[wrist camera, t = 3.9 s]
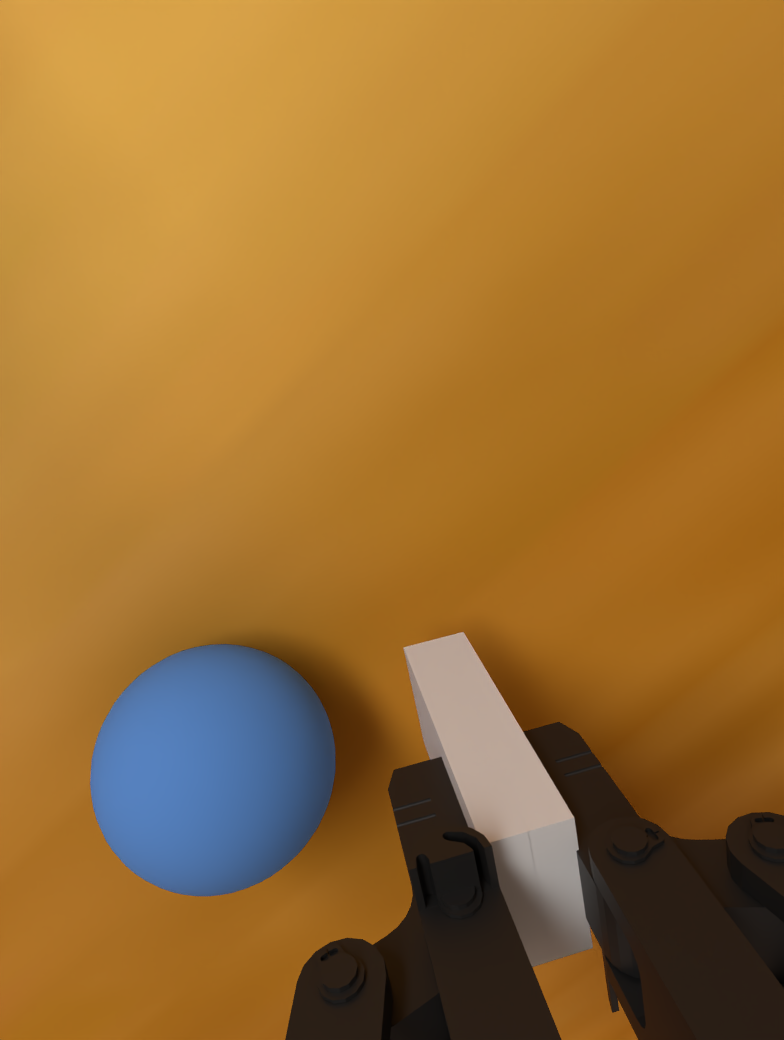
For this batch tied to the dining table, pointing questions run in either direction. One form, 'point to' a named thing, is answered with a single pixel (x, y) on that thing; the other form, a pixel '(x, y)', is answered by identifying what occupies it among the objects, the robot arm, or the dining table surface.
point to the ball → (213, 770)
